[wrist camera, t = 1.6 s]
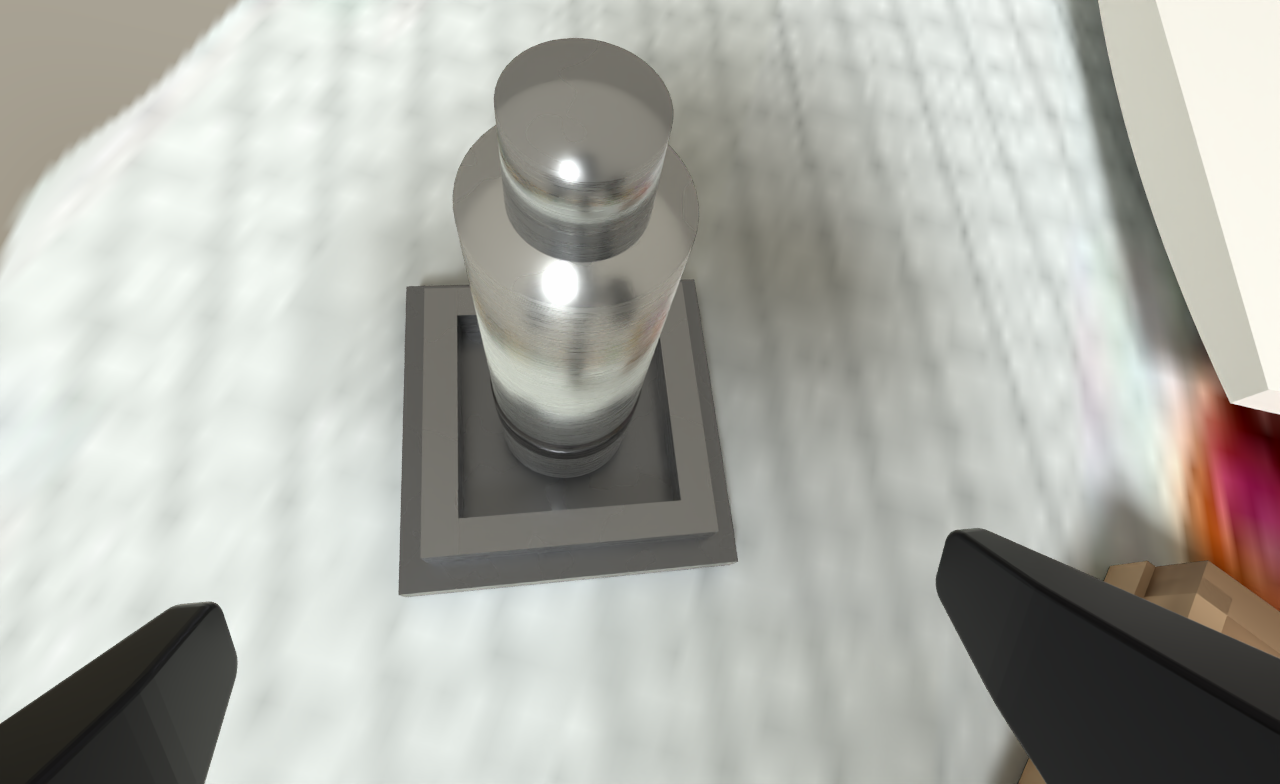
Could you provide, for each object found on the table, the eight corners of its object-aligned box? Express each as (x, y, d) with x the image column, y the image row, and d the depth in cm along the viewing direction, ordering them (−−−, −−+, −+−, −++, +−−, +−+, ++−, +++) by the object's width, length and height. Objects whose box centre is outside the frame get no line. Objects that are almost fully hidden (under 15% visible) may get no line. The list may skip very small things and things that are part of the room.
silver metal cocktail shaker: (590, 503, 20) (653, 288, 8) (475, 441, 20) (360, 136, 8) (648, 395, 21) (778, 75, 9) (541, 339, 21) (530, -45, 9)
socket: (729, 564, 21) (749, 556, 18) (406, 597, 19) (388, 591, 17) (688, 293, 24) (701, 261, 22) (412, 300, 22) (398, 267, 20)
